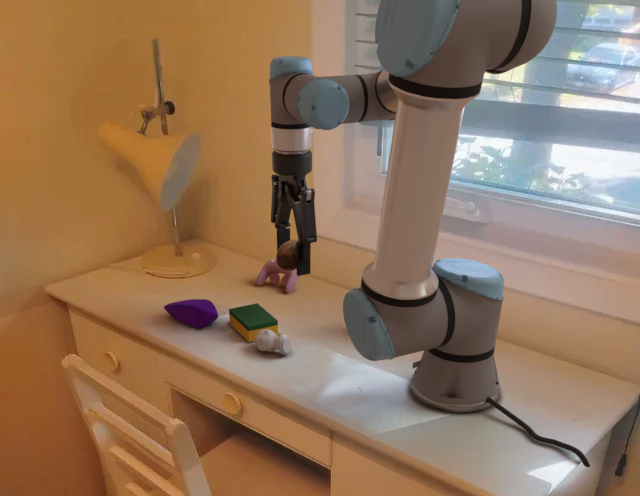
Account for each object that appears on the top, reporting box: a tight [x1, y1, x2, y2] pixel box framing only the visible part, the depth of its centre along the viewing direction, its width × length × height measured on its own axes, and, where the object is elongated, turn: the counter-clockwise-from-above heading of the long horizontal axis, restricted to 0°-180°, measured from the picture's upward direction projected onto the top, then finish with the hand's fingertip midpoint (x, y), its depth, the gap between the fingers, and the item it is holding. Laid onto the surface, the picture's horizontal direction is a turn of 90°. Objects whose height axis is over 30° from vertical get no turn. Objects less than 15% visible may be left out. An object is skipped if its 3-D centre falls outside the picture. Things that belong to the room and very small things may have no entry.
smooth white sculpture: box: [254, 329, 292, 356], centre depth 138 cm, size 4×8×5 cm
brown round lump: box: [275, 239, 312, 271], centre depth 144 cm, size 8×8×6 cm
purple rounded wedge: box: [163, 298, 219, 329], centre depth 149 cm, size 5×5×15 cm
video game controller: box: [255, 259, 301, 294], centre depth 166 cm, size 10×5×7 cm, turn 58°
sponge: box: [228, 302, 279, 343], centre depth 146 cm, size 10×6×3 cm, turn 29°
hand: (293, 266), depth 145 cm, fingers closed on brown round lump, 8 cm apart
